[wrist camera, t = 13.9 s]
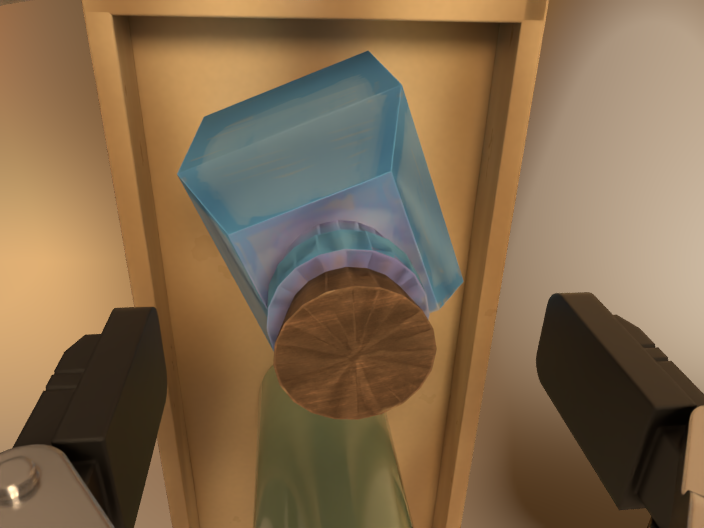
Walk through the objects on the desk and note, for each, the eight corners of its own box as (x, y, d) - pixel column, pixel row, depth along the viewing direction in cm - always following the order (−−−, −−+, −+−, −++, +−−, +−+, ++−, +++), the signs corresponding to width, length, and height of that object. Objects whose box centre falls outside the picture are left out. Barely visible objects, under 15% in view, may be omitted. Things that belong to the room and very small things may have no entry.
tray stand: (229, 377, 54) (195, 664, 32) (192, -31, 38) (77, -15, 16) (377, 370, 56) (442, 639, 34) (400, -26, 40) (550, -4, 18)
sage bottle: (261, 442, 28) (248, 807, 16) (255, 347, 25) (235, 697, 13) (376, 435, 28) (448, 781, 17) (382, 341, 26) (472, 671, 14)
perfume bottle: (368, 50, 20) (468, 152, 10) (419, 204, 23) (540, 414, 12) (203, 116, 20) (125, 285, 10) (274, 260, 23) (272, 508, 13)
